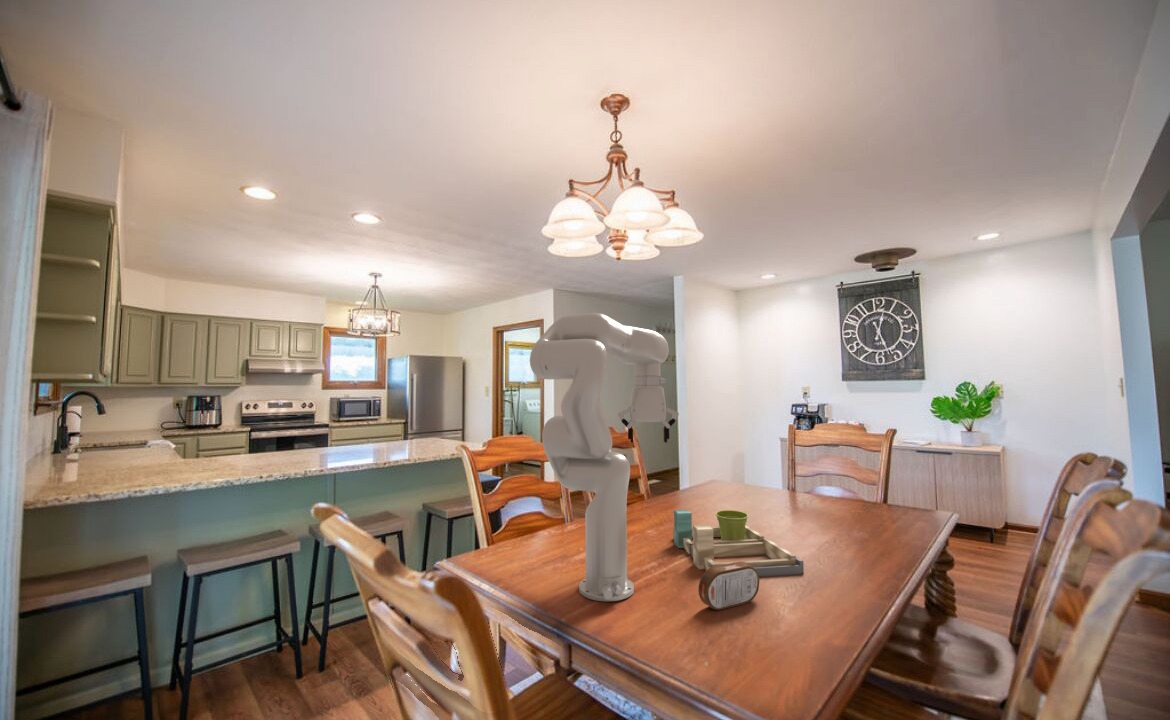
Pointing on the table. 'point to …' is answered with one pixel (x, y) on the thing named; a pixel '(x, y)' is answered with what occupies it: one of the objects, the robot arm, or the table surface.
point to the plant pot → (732, 524)
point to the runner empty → (735, 550)
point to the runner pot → (685, 530)
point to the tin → (728, 585)
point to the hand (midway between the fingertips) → (648, 441)
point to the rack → (780, 569)
